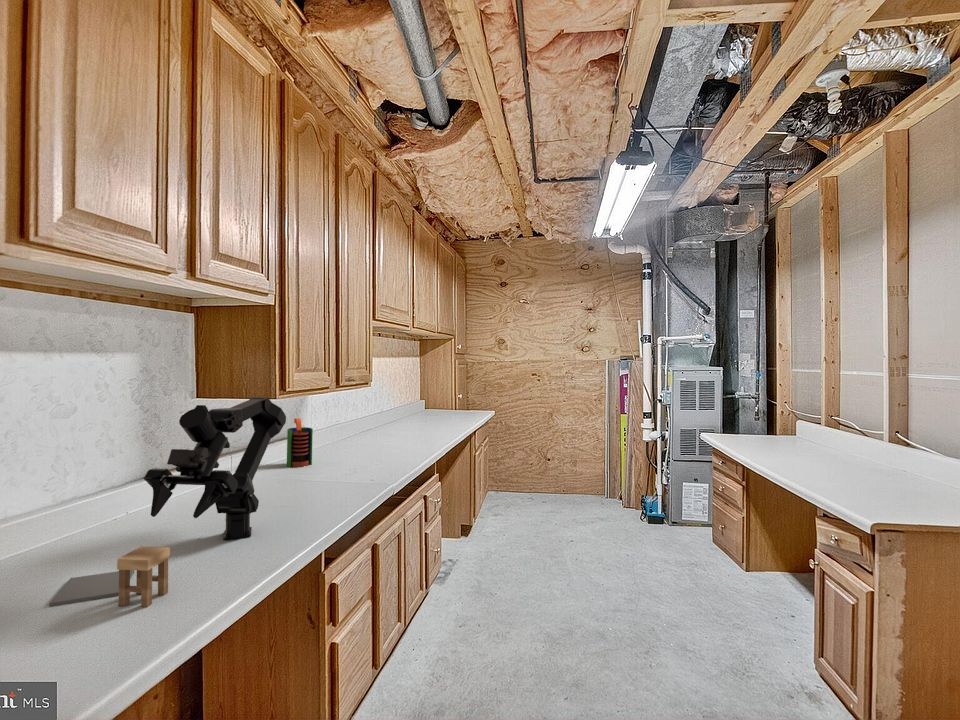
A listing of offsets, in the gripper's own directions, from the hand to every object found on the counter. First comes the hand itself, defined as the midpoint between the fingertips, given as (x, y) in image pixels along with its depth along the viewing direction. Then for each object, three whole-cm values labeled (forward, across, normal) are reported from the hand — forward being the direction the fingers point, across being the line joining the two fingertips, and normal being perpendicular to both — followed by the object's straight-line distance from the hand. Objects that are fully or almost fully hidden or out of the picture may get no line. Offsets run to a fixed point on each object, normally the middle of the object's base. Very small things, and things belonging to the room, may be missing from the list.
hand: (173, 516), depth 101 cm
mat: (+13, -13, +6) cm, 19 cm away
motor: (-64, -18, +83) cm, 106 cm away
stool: (+15, 0, +4) cm, 16 cm away
